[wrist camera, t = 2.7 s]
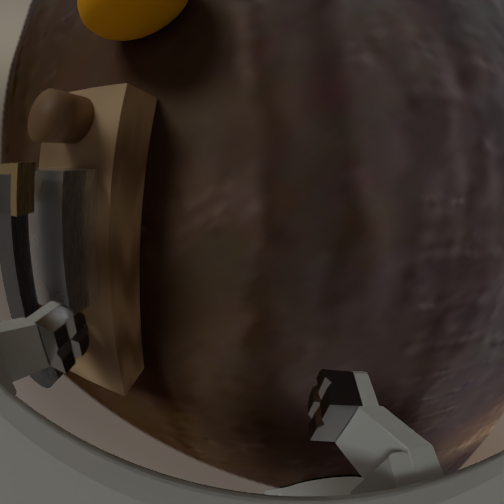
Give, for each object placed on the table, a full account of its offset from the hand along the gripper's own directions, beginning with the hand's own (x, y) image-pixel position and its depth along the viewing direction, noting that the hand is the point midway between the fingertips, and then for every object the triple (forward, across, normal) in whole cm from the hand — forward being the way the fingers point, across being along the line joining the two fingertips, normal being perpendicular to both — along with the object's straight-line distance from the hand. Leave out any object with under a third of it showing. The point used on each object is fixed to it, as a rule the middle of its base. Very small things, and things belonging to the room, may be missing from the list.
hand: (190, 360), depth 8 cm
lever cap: (+6, +11, -1) cm, 12 cm away
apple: (+11, +10, -18) cm, 23 cm away
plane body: (+10, +11, +1) cm, 15 cm away
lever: (+2, +11, +1) cm, 11 cm away
